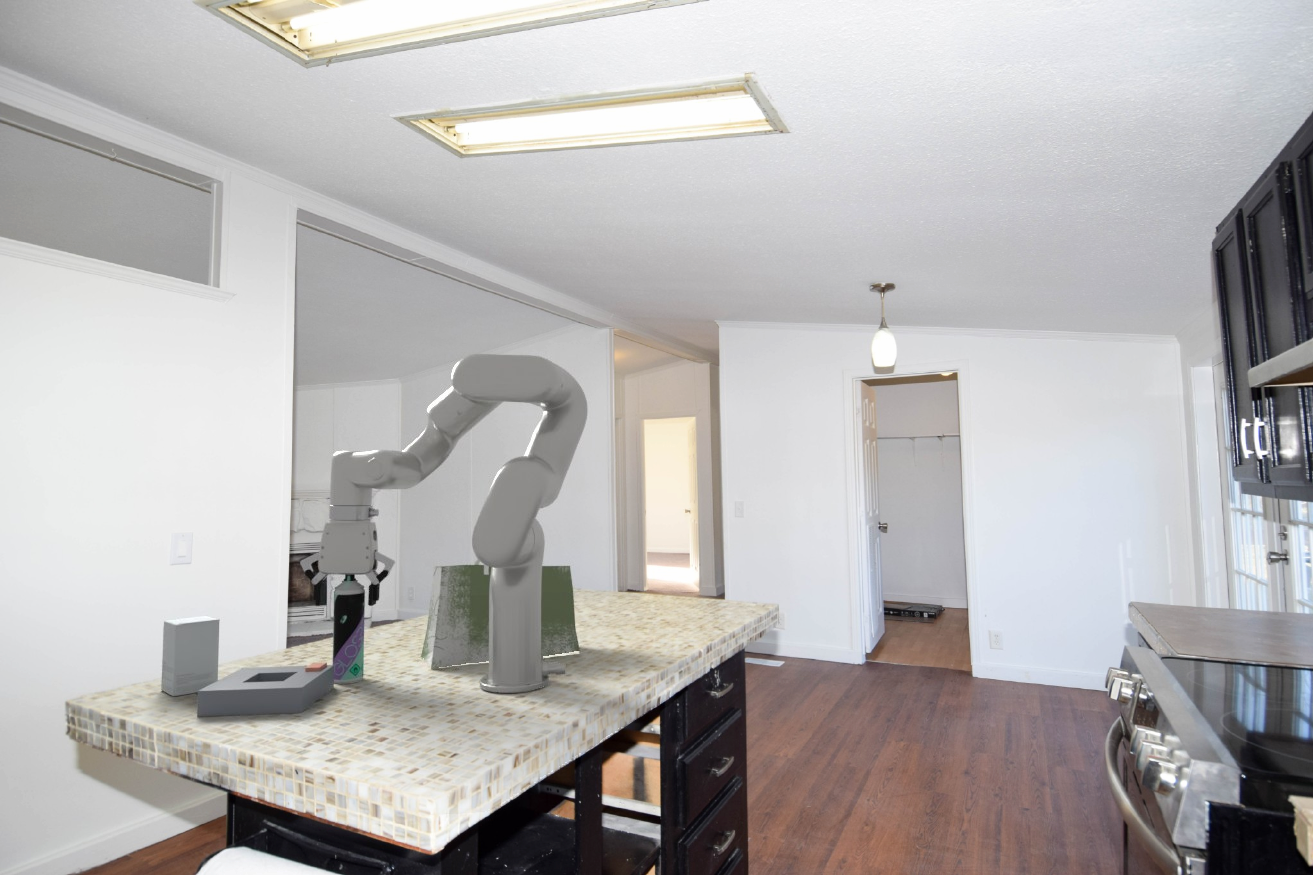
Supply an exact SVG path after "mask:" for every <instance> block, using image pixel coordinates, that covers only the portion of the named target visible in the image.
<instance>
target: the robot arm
mask: <svg viewBox="0 0 1313 875" xmlns="http://www.w3.org/2000/svg"><path fill="white" fill-rule="evenodd" d="M450 379H451V380H450V381H451V387H449V388H448V389H446V391H445V392H444V393H442V394H440V395H439V397H437V398H436V399H435V400H433V402H432V403H430V404H429V405H428V407H427V409H426V416H427V424H426V426H425V429H424V431H422V433H421V434H420V435H419V436H418V437H417V438H416V439H415V440H414V441H413V442H412V443H410V444H409V445H408V446H407V447H406V448H405V449H403V450H390V449H389V450H388V449H378V450H377V449H376V450H375V449H374V450H370V451H360V450H359V451H358V450H341V451H340V450H339V451H335V452H334V453H333V455H332V458H331V466H330V467H331V470H330V472H331V473H330V490H329V509H328V510H329V511H328V512H329V513H328V521H326V522H325V523H324V526H323V529H322V530H323V531H322V534H321V540H320V546H319V551H318V552H316V553H314V554H312V555H310V556H307V557H306V558H304V559H302V560H300V562H299V563H300V564H299V565H300V566H301V568H302V570H303V572H304V574H305V576H306V577H307V578H308V579H309V580H310V581H311V584H312V585H313V601H315V606H316V607H318V606H322V605H324V604H325V602H326V590H327V589H326V587H327V585H326V582H324V580H325V579H326V578H327V577H328V576H329V575H333V576H334V575H335V576H337V575H342V576H343V575H344V576H345V575H355V576H357V575H365V576H366V577H367V579H369V581H370V584H369V585H368V602H367V605H368V606H369V607H372V606H374V605H376V604H377V602H378V601H379V600H380V587H381V583H382V582H383V581H384V580H385V578H387V577H388V576H389V575H390V573H391V571H392V570H393V568H394V566H395V565H396V561H395V560H394V559H392V558H390V557H389V556H386V555H385V554H382V553H381V552H379V545H378V542H379V541H378V533H377V531H378V530H377V525H376V524H377V523H376V521H372V519H373V518H374V517H379V515H380V510H379V509H377V508H376V509H375V508H373V505H372V504H373V489H375V490H408V489H411V488H413V487H415V486H417V485H419V484H421V483H422V482H423V481H424V480H426V478H427V477H429V476H430V475H431V474H433V473H434V472H435V471H436V470H438V468H439V467H441V465H443V464H444V463H445V461H446V460H447V459H448V457H449V456H450V455H451V454H452V452H453V451H454V450H455V448H456V446H457V444H458V442H459V441H460V440H461V439H462V438H463V437H464V436H465V435H466V434H467V433H468V432H470V431H471V430H472V429H473V428H474V427H475V426H476V425H478V424H479V423H480V422H481V421H482V420H483V419H485V418H486V417H488V416H489V414H491V413H492V412H493V411H494V410H495V409H496V408H498V407H499V406H500V405H501V404H502V403H504V402H506V403H508V402H511V403H527V404H531V405H534V406H537V407H540V408H541V409H542V411H543V413H542V417H541V419H540V421H539V422H538V424H537V426H536V427H535V429H534V431H533V433H532V435H531V439H530V441H529V444H528V445H527V448H526V450H525V453H524V455H523V456H516V457H514V458H511V459H510V460H508V461H507V462H505V464H503V465H502V466H501V468H500V469H499V470H498V471H497V473H496V475H495V477H494V479H493V480H492V484H491V485H490V488H489V491H488V493H487V495H486V497H485V501H484V503H483V505H482V508H481V510H480V512H479V515H478V518H477V520H476V523H475V524H474V528H473V531H472V537H471V545H472V550H473V553H474V555H475V557H476V559H477V558H478V559H479V560H480V563H482V565H484V564H485V565H487V566H489V567H492V568H491V575H490V585H489V663H488V675H485V676H483V677H481V678H480V680H479V687H480V688H481V689H482V690H484V691H487V692H491V693H497V692H498V694H499V693H500V694H513V693H517V694H518V693H524V692H525V693H527V692H531V691H530V690H532V691H536V690H535V689H537V690H539V689H538V688H540V689H542V688H541V687H543V686H545V687H546V686H548V685H549V684H548V683H550V675H566V663H565V662H563V663H562V662H561V663H560V661H553V662H548V661H547V660H546V661H545V660H544V659H543V655H541V581H542V566H543V564H544V563H543V562H544V556H545V555H544V553H545V542H546V540H545V533H544V530H543V527H542V525H541V524H540V522H539V521H538V519H537V515H538V513H539V511H540V509H544V508H546V507H549V506H550V505H552V504H553V503H554V502H555V501H556V500H557V499H558V497H559V494H560V492H561V489H562V487H563V485H564V484H563V483H564V481H565V478H566V476H567V473H568V470H569V468H570V466H571V463H572V461H573V458H574V456H575V453H576V450H577V447H578V444H580V443H579V442H580V440H581V438H582V435H583V432H584V429H585V426H586V422H587V419H588V412H589V411H588V402H587V398H586V394H585V392H584V389H583V388H582V386H581V385H580V383H579V382H578V380H576V378H575V377H574V376H573V375H572V374H571V373H570V372H568V371H567V370H566V369H565V368H563V367H562V366H560V365H559V364H557V363H555V362H553V361H551V360H549V359H548V358H545V357H542V356H539V355H538V356H537V355H528V354H524V355H523V354H492V353H491V354H490V353H475V354H469V355H466V356H464V357H463V358H461V359H459V361H458V362H456V364H455V365H454V367H453V368H452V371H451V377H450ZM316 561H318V562H317V563H318V565H317V567H318V572H316V571H315V569H313V566H312V564H313V563H315V562H316ZM379 562H380V563H382V564H383V565H384V567H383V570H381V571H380V572H379V573H378V571H377V570H378V567H379ZM543 688H544V687H543Z"/></svg>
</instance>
